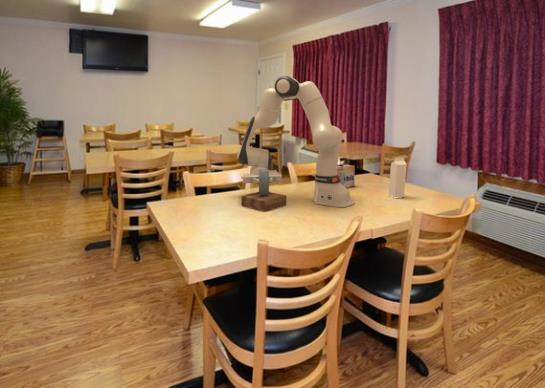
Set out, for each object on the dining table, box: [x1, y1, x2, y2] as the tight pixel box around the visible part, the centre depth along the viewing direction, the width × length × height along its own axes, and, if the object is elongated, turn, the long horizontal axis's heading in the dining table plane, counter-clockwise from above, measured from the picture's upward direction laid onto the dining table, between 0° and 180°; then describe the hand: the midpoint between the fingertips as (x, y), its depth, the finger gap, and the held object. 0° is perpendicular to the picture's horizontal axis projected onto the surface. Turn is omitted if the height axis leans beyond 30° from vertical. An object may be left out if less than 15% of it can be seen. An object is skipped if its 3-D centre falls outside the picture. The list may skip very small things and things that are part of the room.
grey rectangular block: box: [258, 169, 270, 195], centre depth 194 cm, size 5×5×12 cm
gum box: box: [337, 163, 356, 188], centre depth 237 cm, size 24×8×14 cm, turn 123°
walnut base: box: [241, 191, 287, 213], centre depth 196 cm, size 16×16×5 cm
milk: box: [388, 157, 408, 197], centre depth 213 cm, size 6×6×22 cm
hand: (264, 181), depth 193 cm, fingers closed on grey rectangular block, 5 cm apart
